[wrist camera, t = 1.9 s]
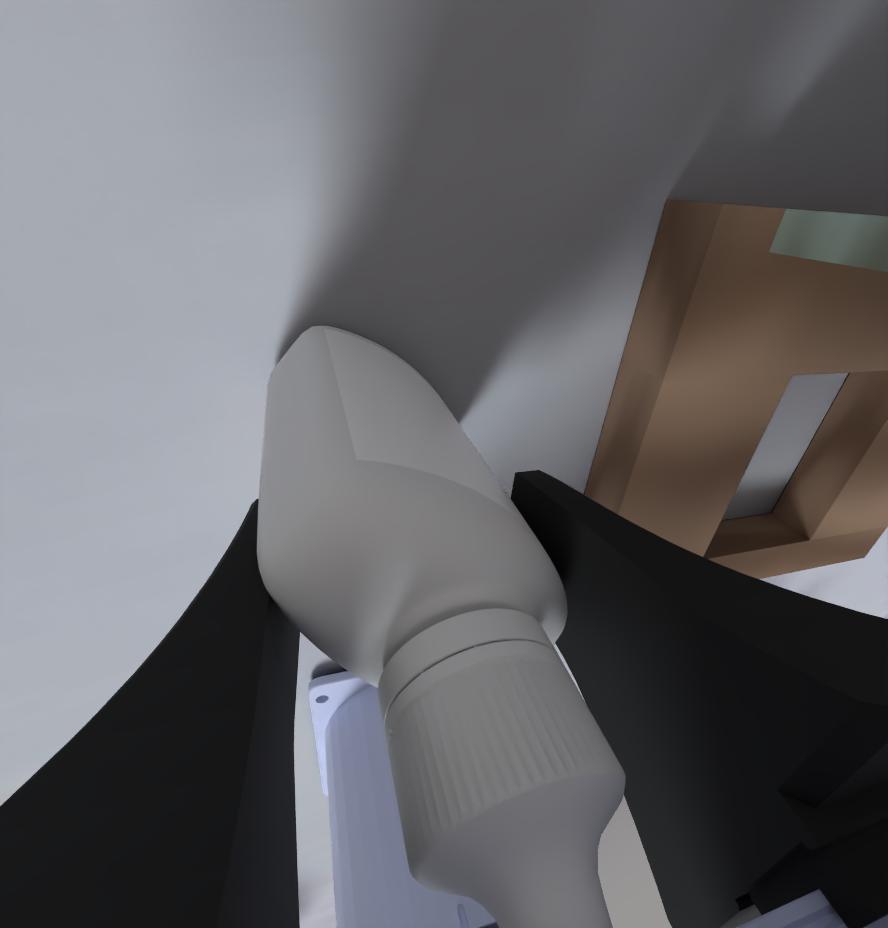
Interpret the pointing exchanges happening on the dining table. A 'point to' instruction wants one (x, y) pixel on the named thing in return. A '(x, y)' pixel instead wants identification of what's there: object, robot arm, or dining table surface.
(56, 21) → the dining table surface
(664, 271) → the socket board
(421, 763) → the eye dropper bottle
